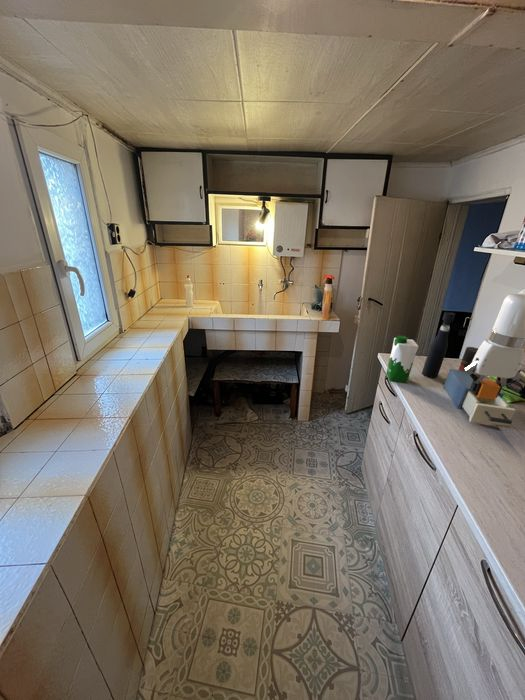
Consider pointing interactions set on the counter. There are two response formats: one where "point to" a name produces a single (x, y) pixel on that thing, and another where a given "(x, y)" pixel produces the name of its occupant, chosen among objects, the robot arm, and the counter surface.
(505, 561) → the counter surface
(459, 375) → the blue drawer cabinet
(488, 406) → the white drawer
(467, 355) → the deodorant
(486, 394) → the small orange cuboid
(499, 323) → the robot arm
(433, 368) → the black water bottle
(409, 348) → the milk carton
